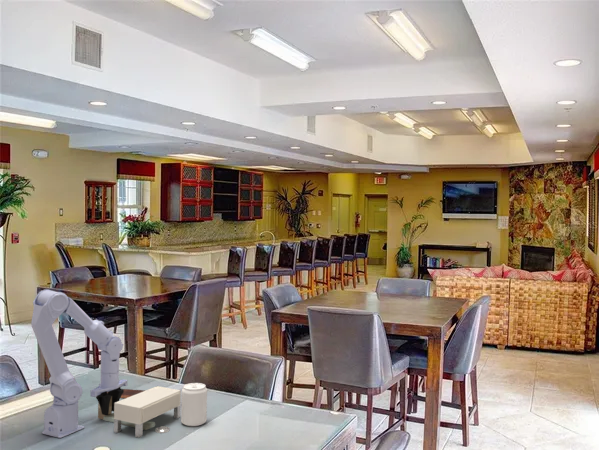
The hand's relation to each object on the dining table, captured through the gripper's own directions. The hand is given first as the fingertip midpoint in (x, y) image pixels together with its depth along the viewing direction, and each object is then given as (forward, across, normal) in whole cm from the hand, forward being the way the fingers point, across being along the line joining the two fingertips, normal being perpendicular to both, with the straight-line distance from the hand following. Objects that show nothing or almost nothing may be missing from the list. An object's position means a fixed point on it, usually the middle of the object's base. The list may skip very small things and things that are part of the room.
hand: (109, 412), depth 183 cm
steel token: (+2, 0, +22) cm, 22 cm away
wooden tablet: (+3, -22, -12) cm, 26 cm away
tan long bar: (+2, 0, +7) cm, 7 cm away
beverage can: (+2, -10, +27) cm, 29 cm away
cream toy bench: (+2, -2, +15) cm, 15 cm away
